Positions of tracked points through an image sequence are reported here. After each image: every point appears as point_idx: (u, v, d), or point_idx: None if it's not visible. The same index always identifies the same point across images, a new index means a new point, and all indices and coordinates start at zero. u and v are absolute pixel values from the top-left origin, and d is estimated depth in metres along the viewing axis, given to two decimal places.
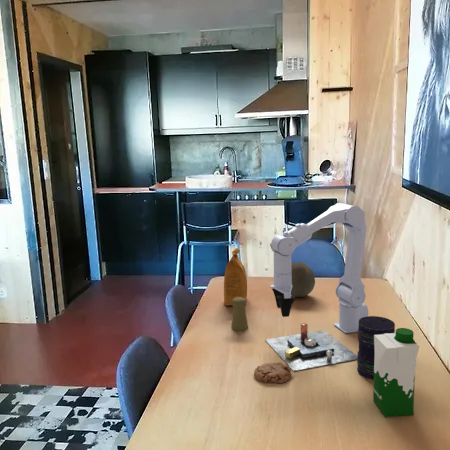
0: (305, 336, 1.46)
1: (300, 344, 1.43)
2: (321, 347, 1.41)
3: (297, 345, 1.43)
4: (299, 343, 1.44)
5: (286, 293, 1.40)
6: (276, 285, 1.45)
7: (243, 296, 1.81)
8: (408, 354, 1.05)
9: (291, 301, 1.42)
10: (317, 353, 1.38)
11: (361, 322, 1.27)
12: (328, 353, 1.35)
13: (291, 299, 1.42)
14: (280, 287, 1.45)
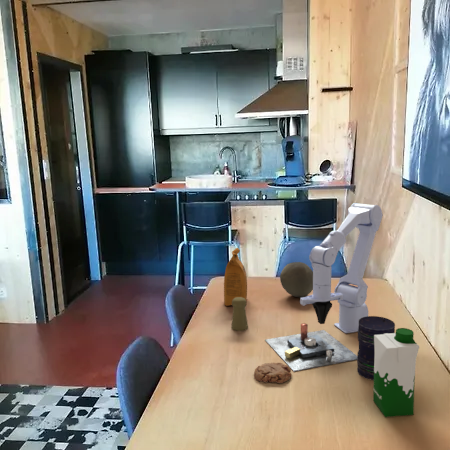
0: (305, 336, 1.46)
1: (300, 344, 1.43)
2: (321, 347, 1.41)
3: (297, 345, 1.43)
4: (299, 343, 1.44)
5: (301, 299, 1.45)
6: None
7: (243, 296, 1.81)
8: (408, 354, 1.05)
9: (318, 309, 1.45)
10: (317, 353, 1.38)
11: (361, 322, 1.27)
12: (328, 353, 1.35)
13: (316, 306, 1.45)
14: (312, 295, 1.47)
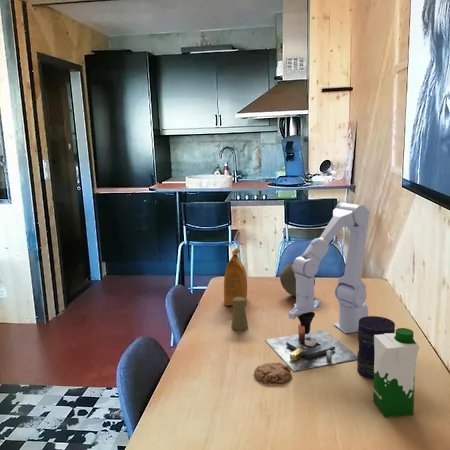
0: (303, 336, 1.46)
1: (301, 345, 1.42)
2: (322, 346, 1.41)
3: (298, 346, 1.42)
4: (299, 344, 1.43)
5: (290, 313, 1.41)
6: (296, 304, 1.46)
7: (243, 296, 1.81)
8: (408, 354, 1.05)
9: (306, 319, 1.45)
10: (320, 352, 1.39)
11: (361, 322, 1.27)
12: (328, 353, 1.35)
13: (305, 317, 1.44)
14: (297, 307, 1.45)
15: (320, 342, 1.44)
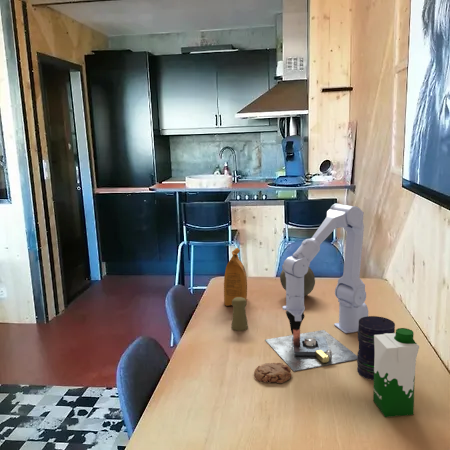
0: (299, 340, 1.43)
1: (308, 348, 1.40)
2: (320, 340, 1.45)
3: (310, 350, 1.39)
4: (306, 348, 1.40)
5: (296, 316, 1.39)
6: (288, 307, 1.44)
7: (243, 296, 1.81)
8: (408, 354, 1.05)
9: None
10: (327, 346, 1.43)
11: (361, 322, 1.27)
12: (328, 353, 1.35)
13: None
14: (292, 309, 1.43)
15: None
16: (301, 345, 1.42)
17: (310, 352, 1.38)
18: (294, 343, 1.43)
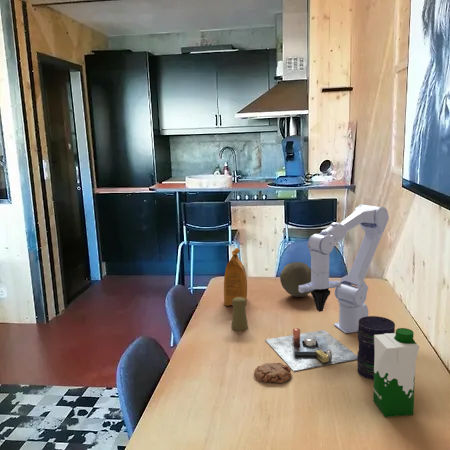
0: (299, 340, 1.43)
1: (308, 348, 1.40)
2: (320, 340, 1.45)
3: (310, 350, 1.39)
4: (306, 348, 1.40)
5: (299, 286, 1.46)
6: None
7: (243, 296, 1.81)
8: (408, 354, 1.05)
9: (316, 296, 1.46)
10: (327, 346, 1.43)
11: (361, 322, 1.27)
12: (328, 353, 1.35)
13: (315, 294, 1.46)
14: (311, 283, 1.48)
15: None
16: (301, 345, 1.42)
17: (310, 352, 1.38)
18: (294, 343, 1.43)
